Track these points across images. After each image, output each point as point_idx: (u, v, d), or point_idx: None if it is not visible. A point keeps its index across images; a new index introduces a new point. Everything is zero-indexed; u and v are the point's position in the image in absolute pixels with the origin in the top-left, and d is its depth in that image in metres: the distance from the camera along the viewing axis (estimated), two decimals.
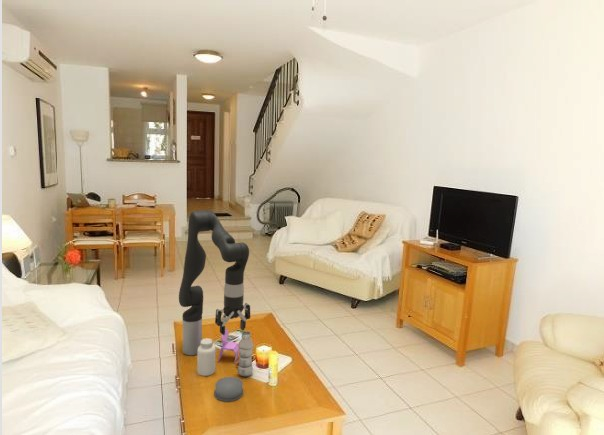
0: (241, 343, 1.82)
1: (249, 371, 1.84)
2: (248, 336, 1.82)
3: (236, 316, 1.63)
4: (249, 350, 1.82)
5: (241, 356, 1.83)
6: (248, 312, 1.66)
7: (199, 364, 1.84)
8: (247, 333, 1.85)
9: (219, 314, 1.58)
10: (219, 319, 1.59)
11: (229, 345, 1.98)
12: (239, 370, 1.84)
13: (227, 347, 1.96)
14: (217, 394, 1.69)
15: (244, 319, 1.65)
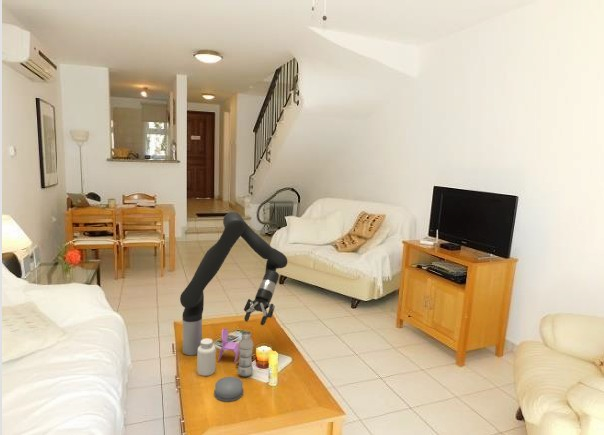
0: (241, 343, 1.82)
1: (249, 371, 1.84)
2: (248, 336, 1.82)
3: None
4: (249, 350, 1.82)
5: (241, 356, 1.83)
6: None
7: (199, 364, 1.84)
8: (247, 333, 1.85)
9: None
10: None
11: (229, 345, 1.98)
12: (239, 370, 1.84)
13: (227, 347, 1.96)
14: (217, 394, 1.69)
15: None
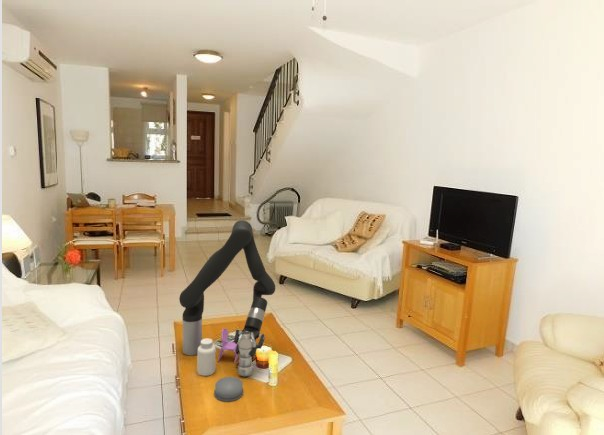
0: (241, 343, 1.82)
1: (249, 371, 1.84)
2: (248, 336, 1.82)
3: None
4: (249, 350, 1.82)
5: (241, 356, 1.83)
6: None
7: (199, 364, 1.84)
8: (247, 333, 1.85)
9: None
10: None
11: (229, 345, 1.98)
12: (239, 370, 1.84)
13: (227, 347, 1.96)
14: (217, 394, 1.69)
15: None
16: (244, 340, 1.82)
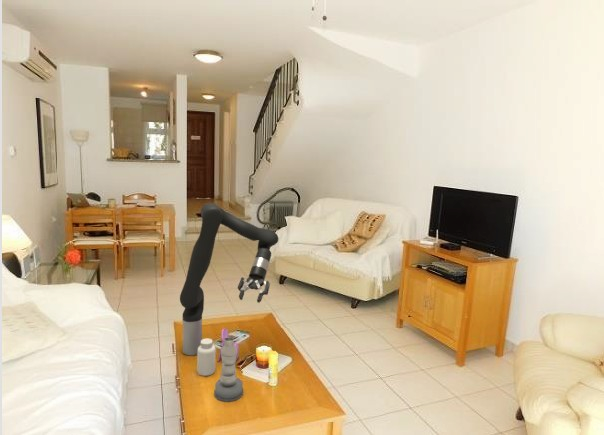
0: (223, 350, 1.68)
1: (232, 380, 1.70)
2: (231, 342, 1.68)
3: None
4: (232, 357, 1.68)
5: (223, 364, 1.69)
6: None
7: (199, 364, 1.84)
8: (230, 339, 1.70)
9: None
10: None
11: None
12: (221, 379, 1.70)
13: None
14: (217, 394, 1.69)
15: None
16: (227, 347, 1.68)
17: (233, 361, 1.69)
